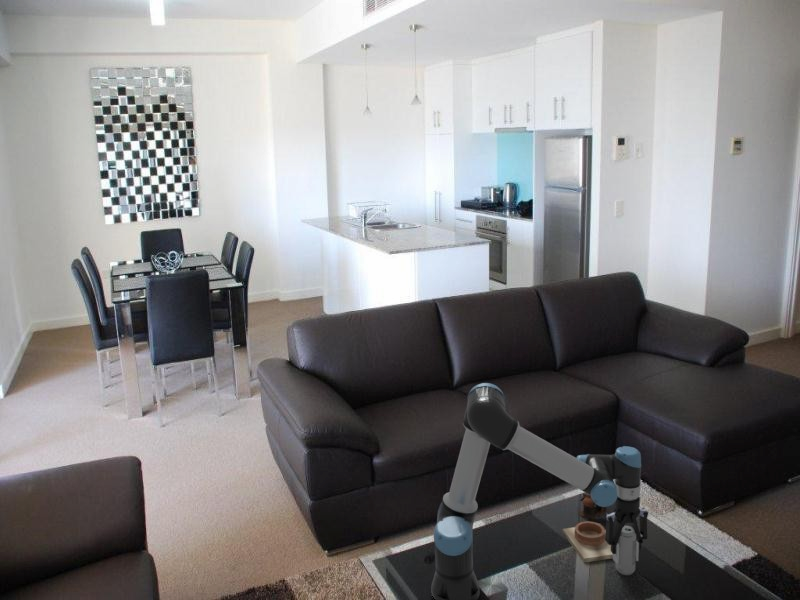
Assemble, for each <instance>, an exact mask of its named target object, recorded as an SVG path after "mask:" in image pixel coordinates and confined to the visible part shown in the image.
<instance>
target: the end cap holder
mask: <svg viewBox="0 0 800 600" xmlns="http://www.w3.org/2000/svg"><path fill="white" fill-rule="evenodd" d="M605 532H606V528H605V527H604V526H603V525H602V523H598V522H595V521H588V520H586V521H580V522H578V523H577V524H575V526H573V527H568V528H562V534H563V535H564V537H565V538H566V540H567V541H568V543H570V545H571V547H572V548H573V549H574V550H575V552H576V554H577V555H578V556H579V557H580V559H581V560H582V562H583V563H590V562H596V561H597V562H598V561H602V560H603V561H604V560H609V559H613V553H612V552H611V545H609V544H608V543H607V542H606V541H605Z"/></svg>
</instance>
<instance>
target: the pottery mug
mask: <svg viewBox="0 0 800 600" xmlns="http://www.w3.org/2000/svg"><path fill="white" fill-rule="evenodd" d="M579 502H581V503H582V506H583V509H580V510H579V512H580V513H579V514H580V516H581V517H585V518H587V519H590V520H591V519H592V520H596V516H597V517H601V516H603V515H605V514H606V513H607V512H606V511H607V507H601V506H598V505H597V504H595V502H594V501H593V500H592V498H591V496H590V495H589V494H587V493H582V497H580V499H579Z"/></svg>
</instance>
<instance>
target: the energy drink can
mask: <svg viewBox="0 0 800 600" xmlns="http://www.w3.org/2000/svg"><path fill="white" fill-rule="evenodd" d="M617 544H618V545H619V564H616V563H615V569H616V570H617V572H618V573H619V574H621V575H624V576H630V575H632V574H634V573H635V571H636V562H637V561H636V533H635V531H634V528H633V527H632V526H631V525H629V524H625V526H624V527H623V528H622V531H621V534H620V537H619V540H618V543H617Z"/></svg>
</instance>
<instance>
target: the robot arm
mask: <svg viewBox="0 0 800 600" xmlns="http://www.w3.org/2000/svg"><path fill="white" fill-rule="evenodd" d="M466 401H467V405H466V409H465V413H464V417H463V419H462V425H463V427H464V429H465V432H464V434H463V439H462V443H461V447H460V450H459V454H458V458H457V462H456V465H455V469H454V472H453V477H452V479H451V485H450V487H449V492H446V493H445V494H443V497H442V501H441V503H440V504H439V507H438V510H437V515H436V516H437V517H436V518H437V519H436V524H435V527H434V531H433V541H434V542H433V543H434V556H435V558H434V559H435V561H434V562H435V572H434V575H433V579H432V581H431V584H430V586H431V587H430V590H431V591H430V592H431V593H432V594H431V597H432V596H433V597H434V599H436V600H479V597H480V592H481V591H480V585H479V581H478V579H477V576H476V574H475V571H474V556H473V555H474V553H473V551H474V550H473V540H474V539H473V537H474V536H473V535H474V533H473V531H474V522H475V519H476V515H477V511H478V508H479V506H478V502H477V500H476V498H477V493H478V490H479V486H480V482H481V480H482V479H481V478H482V476H483V472H484V469H485V465H486V462H487V457H488V453H489V449H490V446H491V445H493V446H494V447H496V448H498V449H500V450H502V451H506V450H509V451H511V452H512V453H514V454H515V455H518V456H520V457H521V458H523V459H525V460H527V461H529V462H530V463H532V464H534V465H536V466H538V467H539V468H540V469H542V470H544V471H547V473H550V474H551V475H552V476H553V475H554V476H555V477H556V478H559V479H560V480H562V481H564V482H566V483H568V484H570V485H572V486H573V487H575V488H577V489H578V490H580V491H582V492H583V493H584V494H588V495H590V496H591V498H592V500H593V501H594V502H595V504H597V505H598V506H601V507H606V508H607V507H611V506H613V505H614V509H613V512H611V513H608V512H605V513H604V516H605V519H606V520H605V521H606V523H605V530H606V532H605V541H606V542H607V543H608V544H609V545H611V552H612V553H613V558H612V560H613V562H614V563H615V565H616V564H619V545H618V544H617V543H618V540H619V537H620V534H621V531H622V528H623V527H624V526H625V525H627V524H630V526H631V527H633V528H634V531H635V533H636V561H635V562H639V554H640V553H639V551H640V550H642V544H643V543H644V540H647V539H648V516H649V512H648V510H646V509H645V508H644V507H642V508H640V507H641V506H640V505H641V498H640V495H641V474H642V456H641V455H642V454H641V452H640V451H639V449H637V448H636V447H632V446H626V445H623V446H620V447H618V448H616V449H615V453H614V454H591V453H587V454H580V455H579V454H578V455H577V456H576V457H575V456H574V455H571V454H570V453H567V452H566V451H564V450H563V449H561V448H559V447H557V446H555V445H553V444H552V443H550V442H548V441H547V440H545V439H543V438H541V437H539V436H538V435H536V434H534V433H533V432H531V431H529V430H527V429H526V428H524V427H523V426H521V425H520V422H519V421H518V420H517V419H515V418H513V417H512V416H510V415H509V414H508V412H507V411H506V396H505V395H504V393H503V391H502V390H501V389H500V387H498V386H497V385H495V384H493V383H489V382H482V383H479V384H476V385H474V386H473V387H472V388H471V389H470V391H469V393H468V394H467V399H466ZM638 516H639V526H638V521H637V518H638ZM614 522H615V525H614ZM433 597H432V598H433ZM434 599H433V600H434Z"/></svg>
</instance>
